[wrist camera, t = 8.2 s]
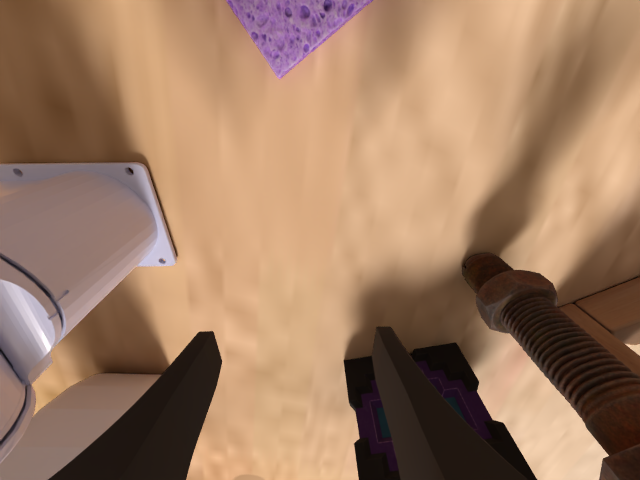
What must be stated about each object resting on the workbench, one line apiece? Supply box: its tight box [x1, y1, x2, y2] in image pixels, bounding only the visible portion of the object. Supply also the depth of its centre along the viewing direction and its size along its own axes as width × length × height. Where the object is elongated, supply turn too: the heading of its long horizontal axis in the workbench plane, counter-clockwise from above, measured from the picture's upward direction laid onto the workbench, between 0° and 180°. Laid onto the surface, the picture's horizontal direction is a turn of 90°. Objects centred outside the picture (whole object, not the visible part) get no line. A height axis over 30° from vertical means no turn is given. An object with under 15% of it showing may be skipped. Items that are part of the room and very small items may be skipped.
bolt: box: [462, 253, 640, 480], centre depth 16 cm, size 6×5×15 cm
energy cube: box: [344, 343, 537, 480], centre depth 25 cm, size 12×12×12 cm
